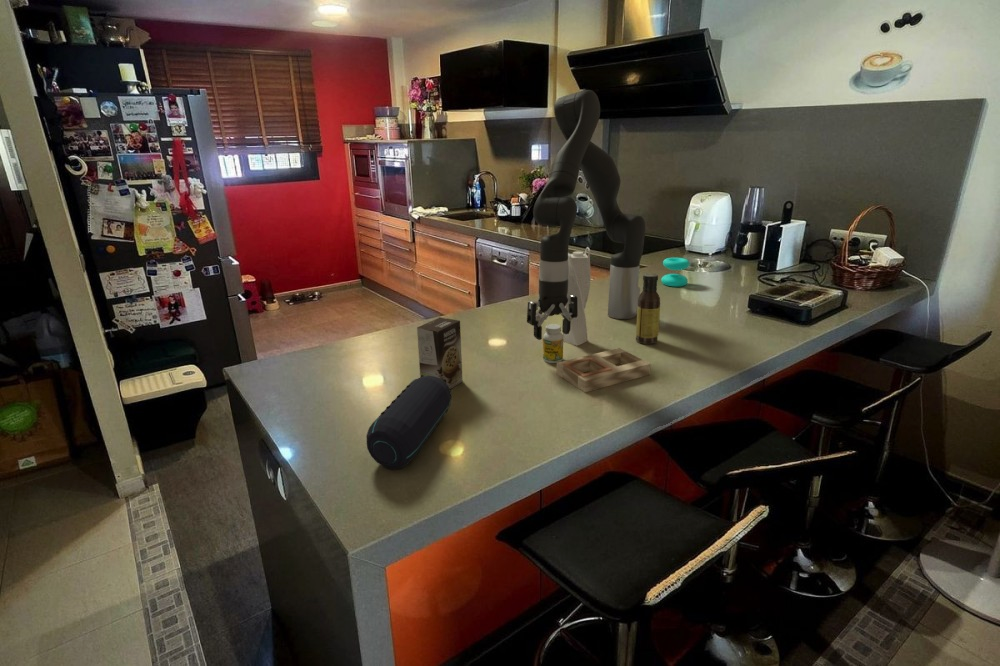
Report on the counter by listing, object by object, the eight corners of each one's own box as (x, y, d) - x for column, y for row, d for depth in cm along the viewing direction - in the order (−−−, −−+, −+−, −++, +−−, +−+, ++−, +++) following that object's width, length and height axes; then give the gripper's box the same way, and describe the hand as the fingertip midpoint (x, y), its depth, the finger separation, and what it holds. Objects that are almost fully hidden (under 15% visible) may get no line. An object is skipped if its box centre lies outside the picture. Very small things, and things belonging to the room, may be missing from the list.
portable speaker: (414, 408, 120) (411, 367, 116) (456, 413, 117) (454, 371, 114) (360, 473, 97) (354, 425, 94) (411, 480, 95) (406, 431, 91)
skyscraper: (594, 341, 156) (598, 246, 146) (579, 348, 151) (582, 250, 141) (571, 334, 161) (574, 243, 151) (557, 341, 156) (559, 247, 146)
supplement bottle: (564, 357, 145) (565, 323, 142) (560, 364, 141) (561, 330, 137) (545, 355, 147) (545, 322, 143) (540, 362, 142) (541, 328, 139)
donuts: (660, 256, 214) (685, 256, 213) (658, 281, 217) (682, 280, 217) (667, 262, 204) (693, 262, 204) (665, 287, 208) (690, 287, 208)
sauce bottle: (662, 342, 154) (668, 275, 147) (647, 346, 151) (653, 278, 144) (645, 335, 159) (650, 270, 152) (630, 340, 156) (635, 274, 149)
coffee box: (441, 396, 125) (437, 331, 119) (420, 389, 128) (415, 327, 122) (464, 381, 132) (461, 320, 126) (443, 375, 135) (439, 315, 130)
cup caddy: (618, 358, 144) (619, 346, 143) (649, 374, 134) (650, 362, 133) (556, 373, 135) (556, 361, 134) (584, 392, 125) (584, 379, 124)
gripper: (568, 270, 142) (566, 327, 147) (522, 277, 136) (521, 336, 141) (585, 276, 136) (582, 336, 141) (537, 283, 130) (536, 345, 135)
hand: (552, 336), depth 141 cm, fingers open, 8 cm apart
